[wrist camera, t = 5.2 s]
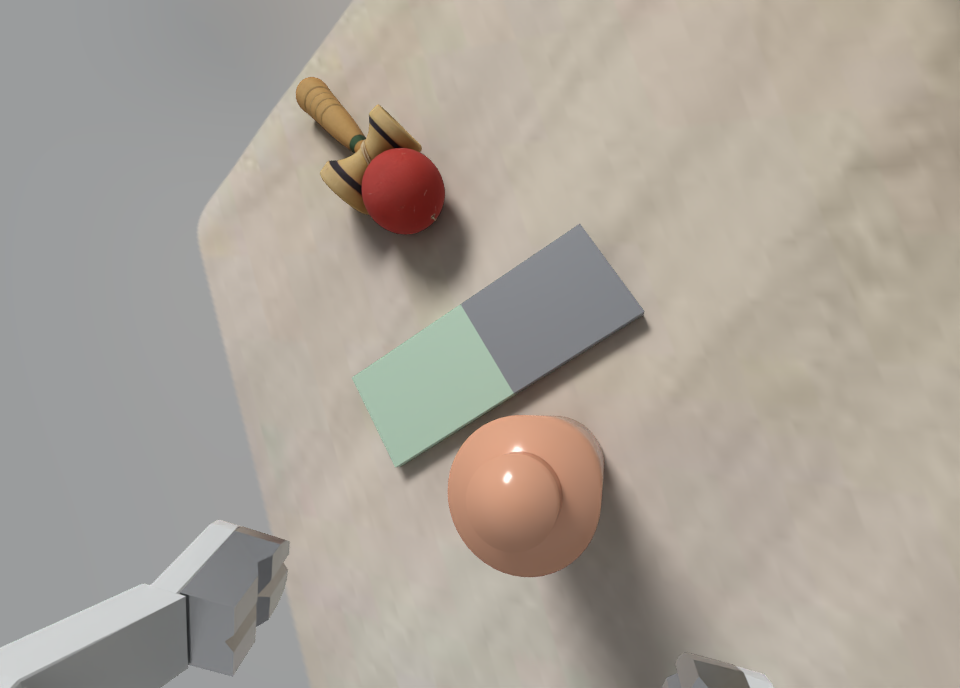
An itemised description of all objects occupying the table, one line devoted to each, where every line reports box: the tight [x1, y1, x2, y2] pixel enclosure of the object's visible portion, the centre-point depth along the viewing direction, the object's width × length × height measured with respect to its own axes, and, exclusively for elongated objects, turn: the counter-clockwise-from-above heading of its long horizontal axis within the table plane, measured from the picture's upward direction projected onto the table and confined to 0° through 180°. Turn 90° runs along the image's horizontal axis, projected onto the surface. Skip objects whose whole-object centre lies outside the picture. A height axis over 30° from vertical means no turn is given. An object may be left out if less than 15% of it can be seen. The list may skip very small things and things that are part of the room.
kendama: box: [296, 77, 445, 234], centre depth 35 cm, size 8×6×18 cm
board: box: [352, 224, 644, 467], centre depth 32 cm, size 20×8×1 cm, turn 120°
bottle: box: [448, 415, 604, 577], centre depth 22 cm, size 6×6×15 cm
